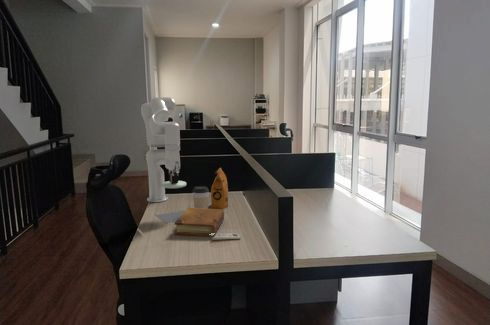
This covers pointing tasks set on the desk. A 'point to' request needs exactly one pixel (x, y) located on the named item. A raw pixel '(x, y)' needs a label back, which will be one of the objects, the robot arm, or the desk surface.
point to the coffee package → (219, 191)
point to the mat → (170, 216)
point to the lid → (171, 185)
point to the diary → (199, 221)
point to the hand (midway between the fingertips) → (173, 182)
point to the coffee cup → (200, 197)
